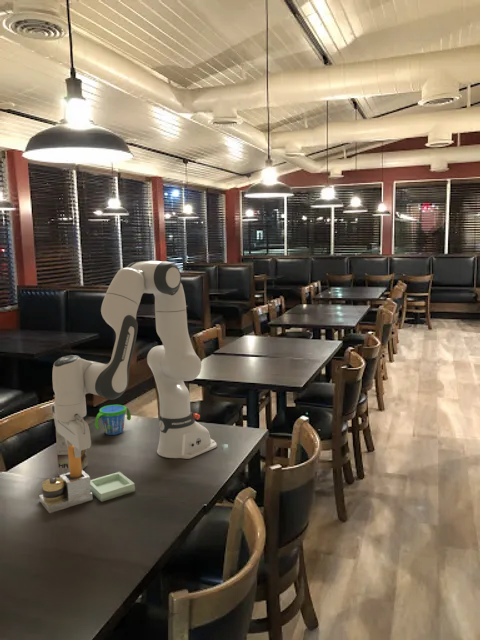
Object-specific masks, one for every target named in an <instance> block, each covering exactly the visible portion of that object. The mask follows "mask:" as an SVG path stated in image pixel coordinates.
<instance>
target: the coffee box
mask: <svg viewBox="0 0 480 640" xmlns="http://www.w3.org/2000/svg"><path fill="white" fill-rule="evenodd" d="M55 438H56V456H57V458H56V459H57V474H58V476H60V475H62V474H65V473H69V472H70V468H69V457H68V447H67V444H66V441H65V438H64V437H63V436H62V435H60V434H59V433H58V432H57V430H56V429H55ZM87 450H88V448H87V449H84V450H81V466H82V470H83V469H85V468H86V467H87V466H88V453H87V452H88V451H87Z"/></svg>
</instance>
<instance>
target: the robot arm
mask: <svg viewBox="0 0 480 640" xmlns="http://www.w3.org/2000/svg"><path fill="white" fill-rule="evenodd" d="M143 294H153V296H154V313H155V316H154V317H155V330H156V333H157V336H158V337H159V338H160V341H161V342H162V344H161V345H156V346H154V347H152V348H151V349H150V350H149V351H148V353H147V355H146V362H147V365H148V367H149V368H150V370H151V372H152V374H153V377H154V380H155V384H156V387H157V392H158V400H159V415H158V427H159V440H158V441H159V442H158V445H157V450H156V453H157V455H159V456H160V457H163V458H167V459H168V458H169V459H187V460H188V459H189V460H190V459H193V458H195V457H197V456H199V455H202V454H204V453H207V452H208V451H211V450H213V449H215V448H217V442H216V440H215V439H212V438H211V435H210V432H209V430H208V429H207V428H206V427H205V426H204V425H203V424H202V425H201V424H200V423H199V422H197V421H196V420H198V421H199V420H200V418H201V415H200V414H198V413H197V412H196V413H194V412H192V411H191V397H190V396H191V394H190V391H189V389H188V387H187V386H186V384H185V382H190V381H194V380H195V379H197V378H198V377H199V375H200V374H201V371H202V366H203V365H202V361H201V358H200V357H199V356H198V355H197V353H196V351H195V349H194V346H193V343H192V340H191V337H190V334H189V329H188V313H187V303H186V294H185V291H184V287H183V284H182V274H181V271H180V268H179V267H178V265H176V263H173V262H171V261H167V260H165V261H162V260H161V261H160V260H143V261H134V262H130V263H129V264H128V265H127V266H126V267H122V268H120V269H118V271H117V272H116V274H115V275H114V276H113V279H112V280H111V283H110V284H109V286H108V288H107V290H106V293H105V295H104V298H103V300H102V303H101V307H100V312H101V316H102V319H103V320H104V321H105V323H106V324H107V325H109V326H110V327H111V328H112V329H113V330H114V332H115V341H114V345H113V349H112V354H111V357H110V358H111V359H110V361H109V362H108V363H102V362H98V361H93V360H86V359H84V358H81V357H80V356H79V355H73V354H70V355H65V356H62V357H59V358H58V359H57V360H55V361H54V363H53V365H52V366H53V367H52V376H51V377H52V389H53V392H54V401H53V402H54V404H51V405H50V408H51V413H53V420H54V427H55V431H56V430H57V432H58V433H59V434H60V435H62V436H63V437H64V438H65V441H66V444H67V447H69V446H71V445H74V451H73V453H74V457H75V458H79V457H81V450H84V449H87V450H88V449H90V448H91V446H92V439H91V438H92V437H91V432H90V426H89V424H88V422H87V421H85V420H84V417H86V416H87V413H88V412H87V403H86V395H87V394H93V395H95V396H99V397H101V398H104V399H107V400H110V401H111V400H116V399H118V398H120V397H121V396H122V395H123V394H124V393H125V392H126V390H127V388H128V386H129V380H130V379H129V377H130V367H131V362H132V358H133V354H134V350H135V345H136V341H137V335H138V330H139V328H138V327H139V324H138V320H137V314H138V313H137V312H138V309H139V306H140V303H141V299H142V297H143Z"/></svg>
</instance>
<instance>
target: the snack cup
mask: <svg viewBox="0 0 480 640" xmlns="http://www.w3.org/2000/svg"><path fill="white" fill-rule="evenodd" d="M131 415H132V414H131V411H130V408H128V407H126V406H125V405H122V404H108V405H104V406H102V407H100V408H99V412H98V413H97V414H96V417H95V419H94V427H95V428H96V430H100V426H99V425H100V424H99V419H100V418H101V422H102V427H103V431H104V433H105V434H106V435H109V436H116V435H119V434H122V433H123V432H124V429H125V417H126V420H127V421H130V420H131V419H132V416H131Z"/></svg>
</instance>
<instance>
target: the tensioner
mask: <svg viewBox="0 0 480 640" xmlns="http://www.w3.org/2000/svg"><path fill="white" fill-rule="evenodd" d="M90 480H91V476H90V475H89V474H88V473H87V472H85V470H83V469H82V475H81V476H80V477H76V478H72V477H70V472H69V473H65V474H62V475H59V476H57V477H56V476H55V477H53V476H52V477H49V478H48V479H45V480H44V481H43V482H41V483H42V487H41V491H42V493H41V494H39V495H38V497H39V502H40V504H41V505H42V506H43V507H44V509H45V510H46V511H47V513H49V514H53V513H54V512H58V511H60V510H64V509H68V508H70V507H74V506H77V505H80V504H83V503H87V502H90V501H92V500H94V498H93V495H94V494H93V493H92V492H91V485H90Z"/></svg>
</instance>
